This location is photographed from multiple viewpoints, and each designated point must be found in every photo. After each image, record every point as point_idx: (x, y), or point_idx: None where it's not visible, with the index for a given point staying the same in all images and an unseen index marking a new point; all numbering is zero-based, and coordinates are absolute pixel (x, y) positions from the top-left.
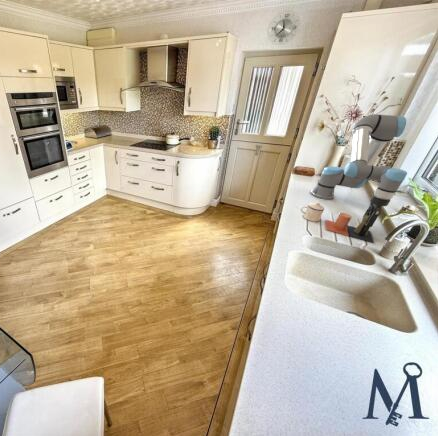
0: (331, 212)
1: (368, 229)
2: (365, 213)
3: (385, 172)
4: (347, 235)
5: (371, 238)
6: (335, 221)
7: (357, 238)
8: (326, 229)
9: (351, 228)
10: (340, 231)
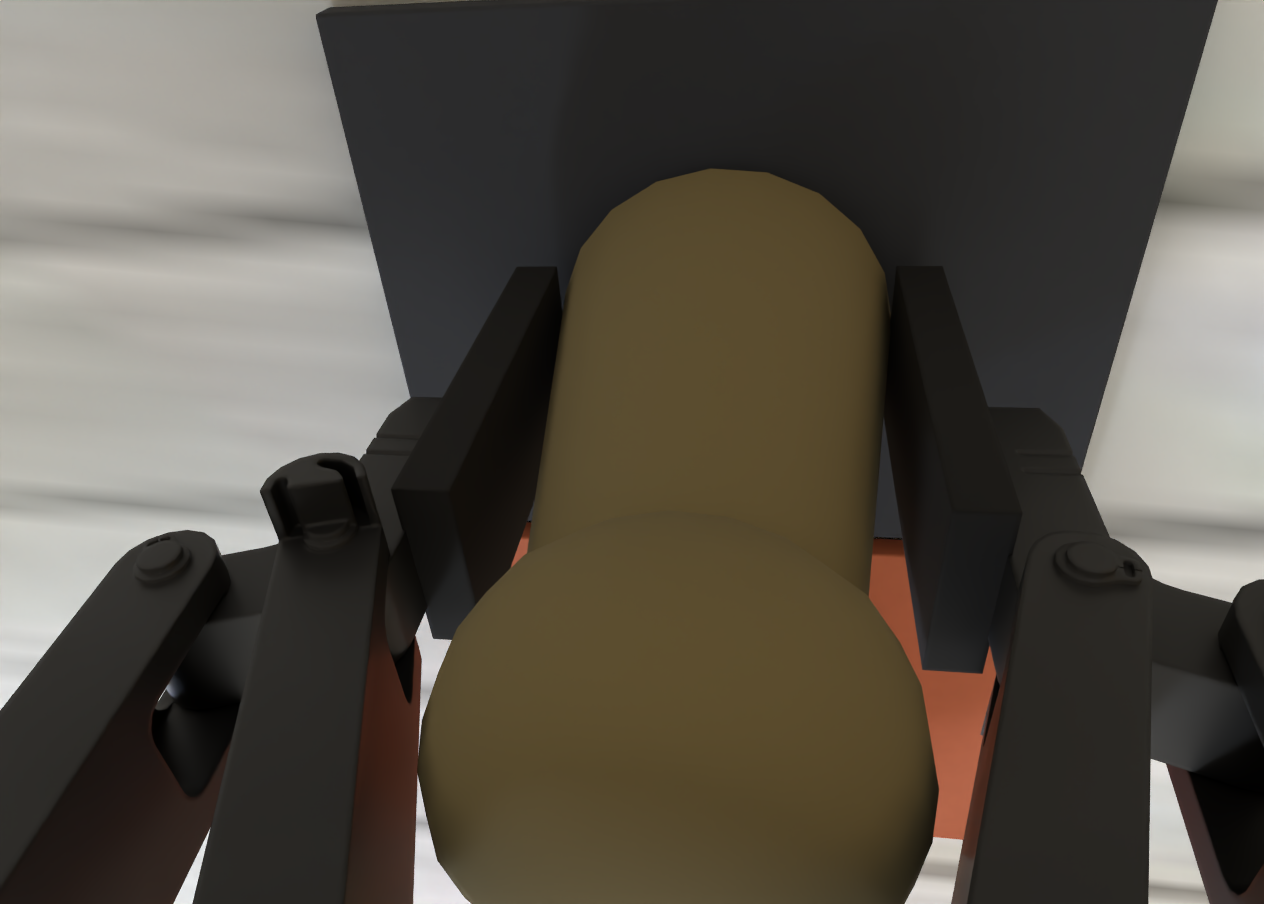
0: (3, 668)
1: (806, 322)
2: (188, 859)
3: None
4: None
5: (914, 17)
6: None
7: (1096, 383)
8: None
9: None
10: (929, 674)
